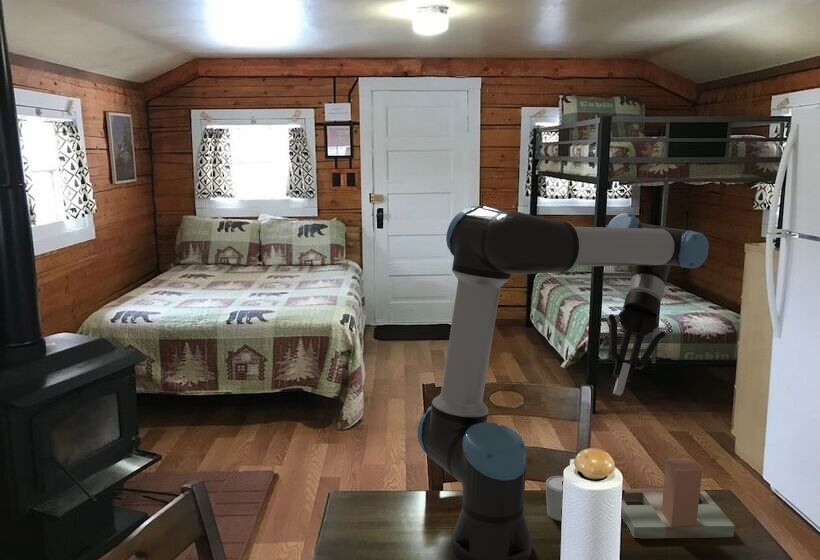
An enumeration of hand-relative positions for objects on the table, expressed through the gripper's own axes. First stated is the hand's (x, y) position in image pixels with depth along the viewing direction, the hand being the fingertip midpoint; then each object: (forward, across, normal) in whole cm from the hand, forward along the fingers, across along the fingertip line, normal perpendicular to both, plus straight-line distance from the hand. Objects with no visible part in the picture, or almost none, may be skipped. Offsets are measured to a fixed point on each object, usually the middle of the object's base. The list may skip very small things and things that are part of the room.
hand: (617, 392), depth 144 cm
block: (+19, -18, -5) cm, 27 cm away
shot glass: (+26, +3, -11) cm, 28 cm away
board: (+18, -18, -10) cm, 28 cm away
